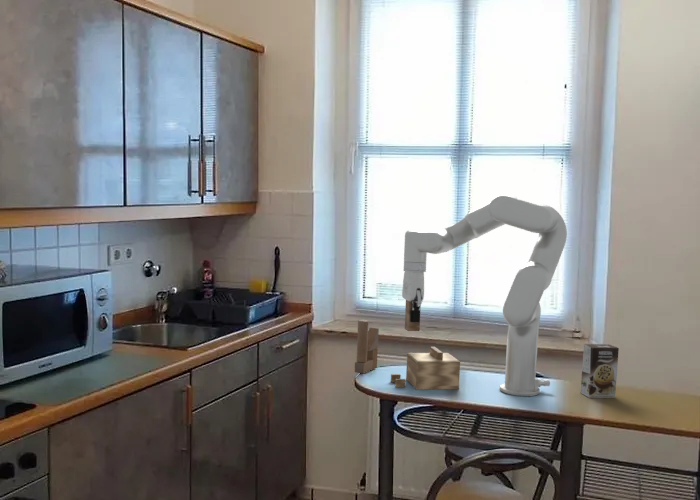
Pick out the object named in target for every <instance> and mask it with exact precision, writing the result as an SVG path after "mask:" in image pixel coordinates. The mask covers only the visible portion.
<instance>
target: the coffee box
mask: <svg viewBox="0 0 700 500" xmlns="http://www.w3.org/2000/svg"><path fill="white" fill-rule="evenodd" d="M619 350H620V349H619V347H617V346H614V345H611V344H608V343H607V344H604V343H603V344H601V343H599V344H597V343H593V344H592V343H583V351H582V352H583V353H582V354H583V356H582V367H581V380H580V393H581V394H582V395H583V396H585V397H587V398H588V399H592V398H593V399H601V398H602V399H605V398H607V399H608V398H609V399H610V398H611V399H614V398H616V391H617V379H618V377H617V376H618V367H619V366H618V364H619V362H618V361H619Z"/></svg>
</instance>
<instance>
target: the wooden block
mask: <svg viewBox="0 0 700 500" xmlns="http://www.w3.org/2000/svg"><path fill="white" fill-rule="evenodd" d="M379 331H380V329H379V327H378V328H377V327H369V320H367V319H359V320H357V339H356V341H357V343H356V361H355V362H354V373H357V374H358V373H359V374H367V373H368V372H370V370H371V371H373V370H375V369H377V368H378V350H379V349H378V348H379V333H380V332H379Z"/></svg>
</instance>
